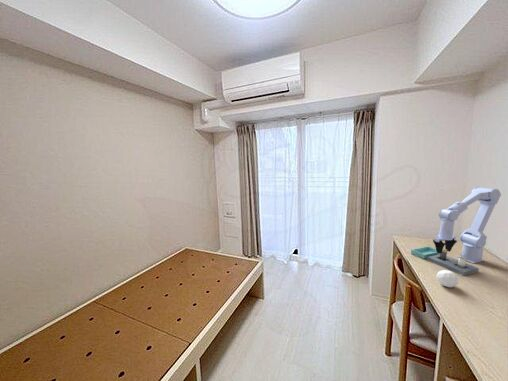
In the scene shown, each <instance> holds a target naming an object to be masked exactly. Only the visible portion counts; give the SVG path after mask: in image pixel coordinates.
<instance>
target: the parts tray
mask: <svg viewBox="0 0 508 381" xmlns="http://www.w3.org/2000/svg"><path fill="white" fill-rule="evenodd" d="M410 254H411V255H413V256H416V257H418V258H420V259H422V260H427V257H429V256H434V255H438V254H440V253H438V252H437V251H436V248H434V247H432V246H429V245H427V246H422V247H417V248H413V249H411V252H410Z"/></svg>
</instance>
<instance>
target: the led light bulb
mask: <svg viewBox="0 0 508 381" xmlns="http://www.w3.org/2000/svg"><path fill="white" fill-rule="evenodd" d="M446 256H448V251H447V249H445V247H443V250H442V253H441V254H440V257H439V259H441V260H443V261H446Z"/></svg>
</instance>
